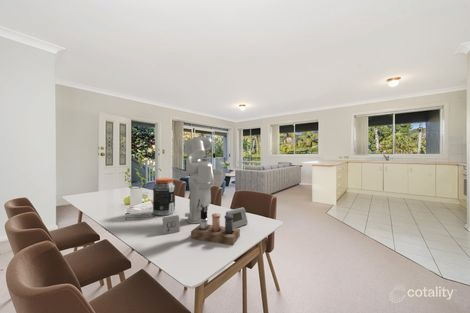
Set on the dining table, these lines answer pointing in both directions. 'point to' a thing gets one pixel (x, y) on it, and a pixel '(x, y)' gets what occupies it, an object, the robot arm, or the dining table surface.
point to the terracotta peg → (216, 222)
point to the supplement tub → (164, 197)
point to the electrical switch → (171, 224)
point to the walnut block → (215, 235)
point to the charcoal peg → (228, 224)
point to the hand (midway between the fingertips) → (203, 218)
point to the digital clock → (238, 217)
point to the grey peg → (203, 224)
